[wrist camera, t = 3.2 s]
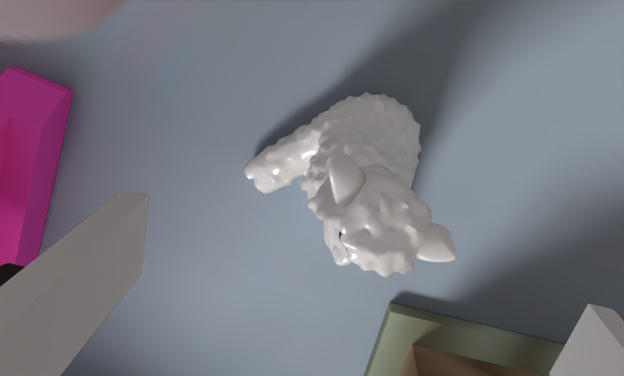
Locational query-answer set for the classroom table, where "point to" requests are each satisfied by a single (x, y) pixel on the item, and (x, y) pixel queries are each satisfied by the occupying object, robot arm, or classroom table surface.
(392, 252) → the seated beast figurine
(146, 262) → the classroom table surface
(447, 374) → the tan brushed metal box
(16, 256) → the bracket
